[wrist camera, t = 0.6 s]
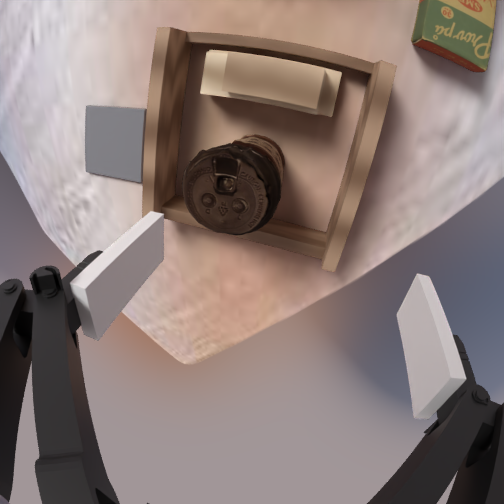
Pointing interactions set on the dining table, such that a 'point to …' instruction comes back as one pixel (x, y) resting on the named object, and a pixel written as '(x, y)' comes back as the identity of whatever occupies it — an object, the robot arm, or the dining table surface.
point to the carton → (456, 30)
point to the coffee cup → (235, 185)
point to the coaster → (115, 141)
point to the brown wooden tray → (169, 125)
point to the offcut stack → (271, 81)
